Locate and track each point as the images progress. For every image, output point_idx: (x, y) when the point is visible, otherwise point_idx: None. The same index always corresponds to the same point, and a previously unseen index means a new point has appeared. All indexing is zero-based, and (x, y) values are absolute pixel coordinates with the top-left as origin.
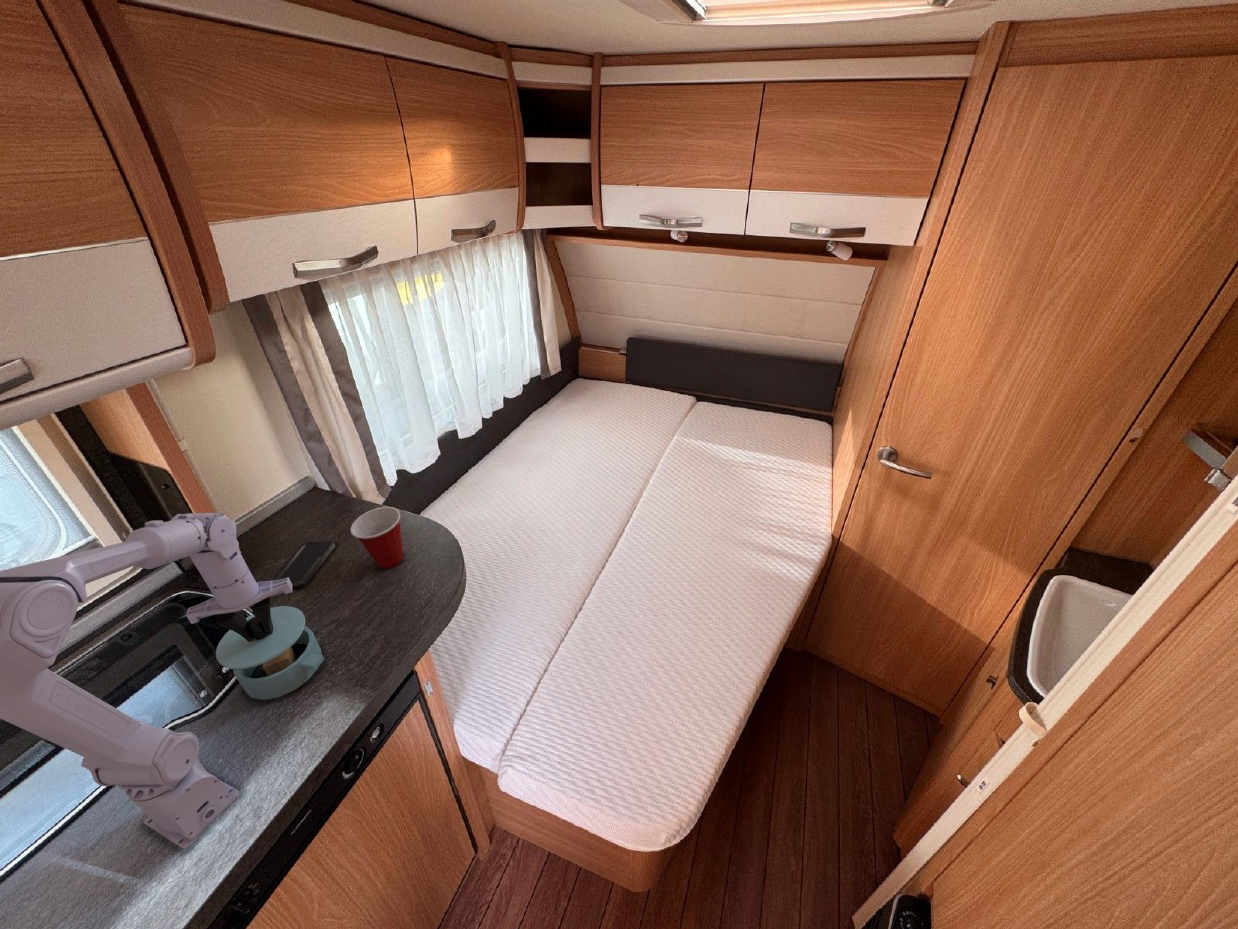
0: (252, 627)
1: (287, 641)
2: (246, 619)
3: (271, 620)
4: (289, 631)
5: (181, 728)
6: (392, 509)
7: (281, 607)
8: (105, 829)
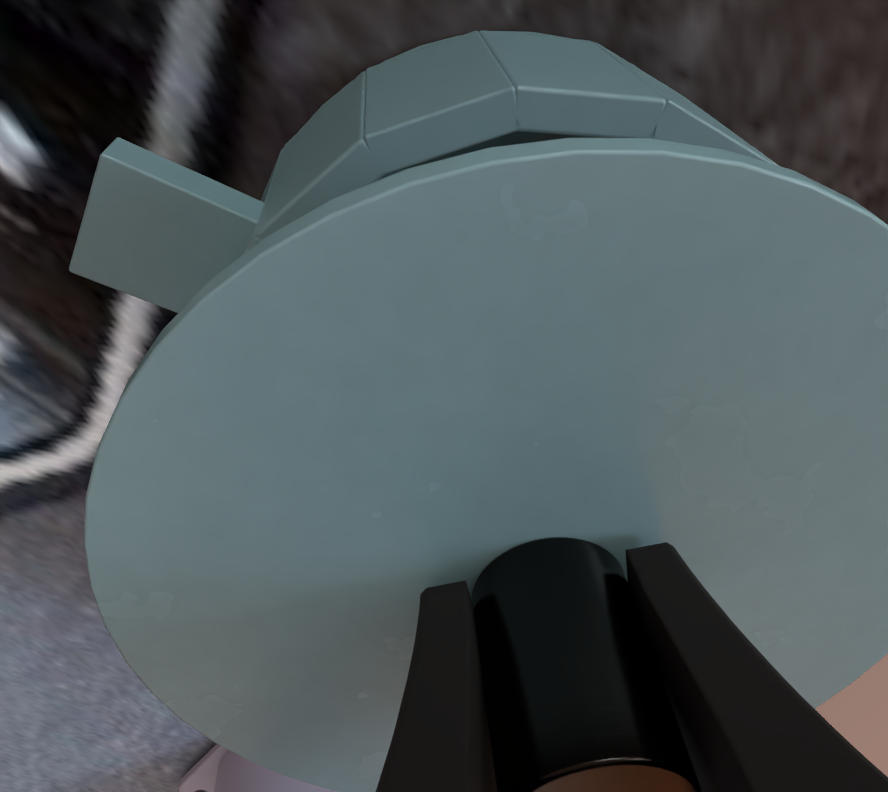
0: None
1: (796, 687)
2: (469, 750)
3: (713, 605)
4: (820, 599)
5: (31, 519)
6: None
7: (746, 197)
8: (46, 774)
